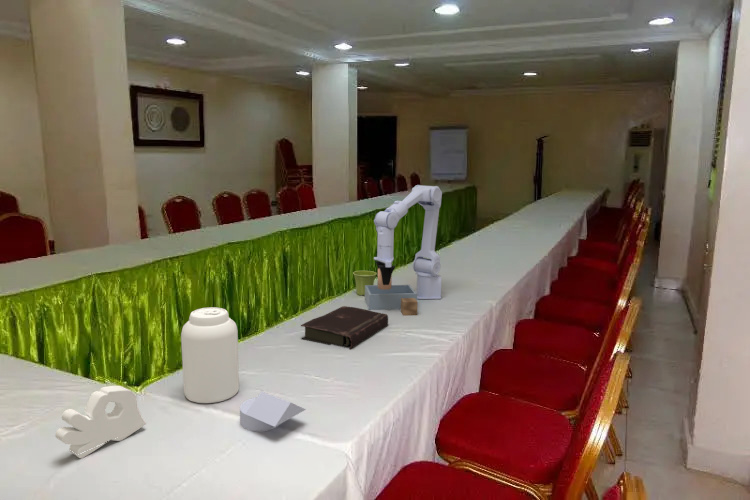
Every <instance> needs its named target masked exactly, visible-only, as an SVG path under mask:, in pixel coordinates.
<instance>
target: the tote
mask: <svg viewBox="0 0 750 500" xmlns="http://www.w3.org/2000/svg"><path fill="white" fill-rule="evenodd" d="M401 298H415V299H416V300H417V301H418V299H417V291H416V290H414V287H412V286H411V284H392V287H391V289H388V290H382V289H378V284H373V285H365V295H364V302H365V304H366V306H367V310H369V311H372V310H401Z"/></svg>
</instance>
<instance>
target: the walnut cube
mask: <svg viewBox="0 0 750 500" xmlns="http://www.w3.org/2000/svg"><path fill="white" fill-rule="evenodd" d="M418 304H419V303H418V299H417V300H416V299H415V298H401V309H400V313H401V315H402V316H403V317H404V316H412V317H413V316H418Z"/></svg>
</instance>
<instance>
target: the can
mask: <svg viewBox="0 0 750 500" xmlns="http://www.w3.org/2000/svg"><path fill="white" fill-rule="evenodd" d="M238 329H239V328H238V326H237V323H236V322H235V321H234V320H233V319H231V317H229V311H227V310H226V308H221V307H215V306H213V307H211V306H210V307H202V308H197V309H195V310H193V311H191V312H190V315H189V318H188V321H186V323H184V324H183V326H182V329H181V333H180V339H181V342H180V343H181V358H182V363H181V364H182V380H183V384H182V385H183V394H184V397H186V399H187V400H189V401H191V402H193V403H197V404H212V403H213V404H215V403H219V402H223V401H227V400H229V399H231V398H233V397H234V396H236V394H237V393H238V392H239V389H240V373H239V371H240V369H239V368H240V367H239V363H240V362H239V337H238V336H239V335H238V334H239V333H238Z"/></svg>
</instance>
